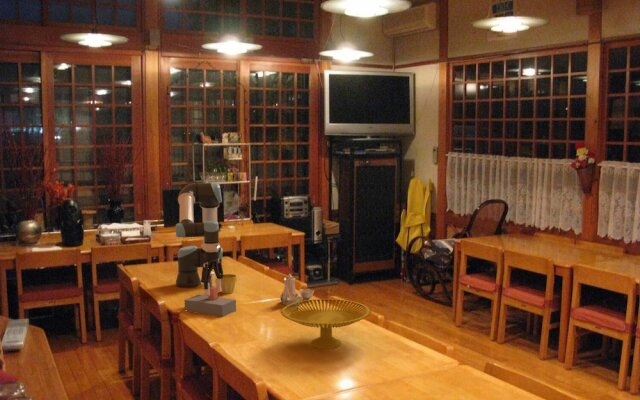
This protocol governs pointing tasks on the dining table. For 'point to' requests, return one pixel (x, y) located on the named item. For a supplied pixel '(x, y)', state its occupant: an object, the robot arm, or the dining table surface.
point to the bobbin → (210, 279)
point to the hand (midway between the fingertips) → (212, 292)
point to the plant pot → (228, 283)
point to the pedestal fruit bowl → (325, 318)
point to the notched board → (210, 305)
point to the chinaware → (293, 292)
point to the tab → (213, 293)
